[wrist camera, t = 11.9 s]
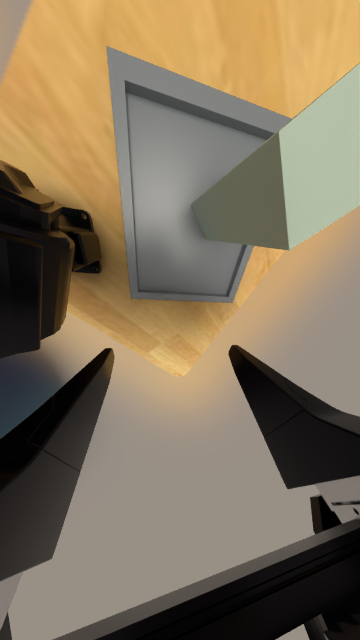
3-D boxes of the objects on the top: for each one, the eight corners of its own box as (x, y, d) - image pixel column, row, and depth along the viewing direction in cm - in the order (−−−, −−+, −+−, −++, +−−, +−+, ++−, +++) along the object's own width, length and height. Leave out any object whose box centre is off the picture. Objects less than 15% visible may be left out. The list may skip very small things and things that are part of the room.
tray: (133, 293, 20) (131, 298, 18) (114, 76, 10) (106, 46, 8) (226, 297, 23) (232, 302, 21) (282, 136, 13) (300, 122, 12)
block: (206, 239, 16) (289, 250, 6) (190, 204, 14) (278, 131, 4) (234, 218, 16) (383, 189, 5) (222, 177, 13) (434, 0, 3)
